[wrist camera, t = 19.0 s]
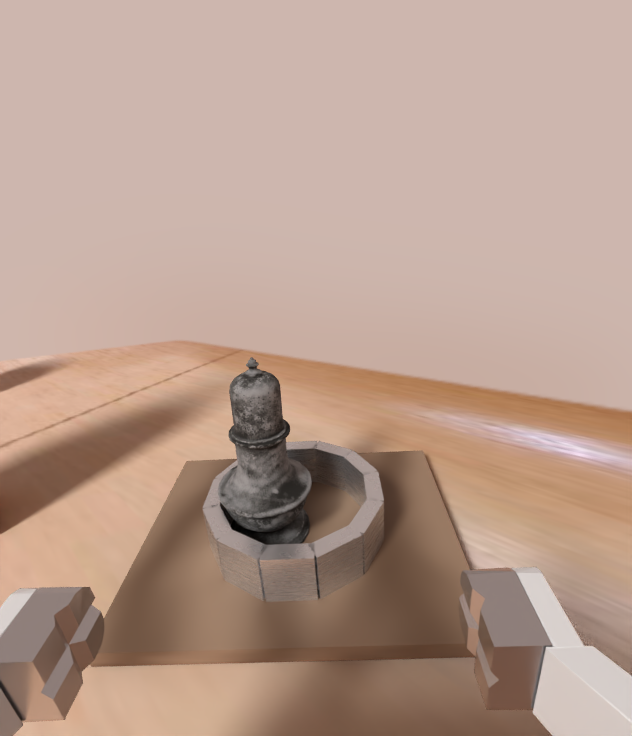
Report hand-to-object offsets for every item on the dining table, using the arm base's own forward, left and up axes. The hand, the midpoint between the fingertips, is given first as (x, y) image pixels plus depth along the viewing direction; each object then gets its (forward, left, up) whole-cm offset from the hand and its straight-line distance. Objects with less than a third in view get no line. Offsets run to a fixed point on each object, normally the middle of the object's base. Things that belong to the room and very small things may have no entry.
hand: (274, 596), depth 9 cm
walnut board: (+1, -15, -13) cm, 19 cm away
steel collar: (+1, -15, -13) cm, 19 cm away
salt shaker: (+3, -15, -12) cm, 19 cm away
